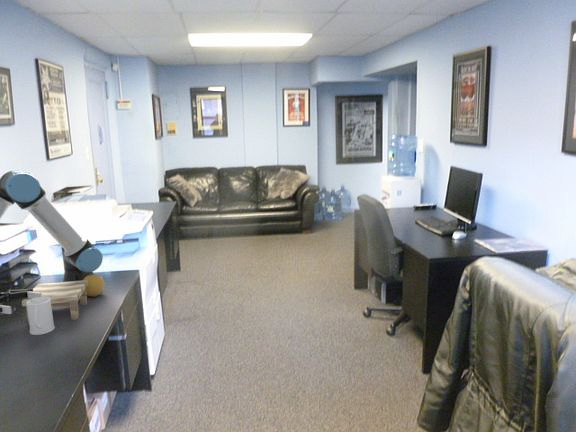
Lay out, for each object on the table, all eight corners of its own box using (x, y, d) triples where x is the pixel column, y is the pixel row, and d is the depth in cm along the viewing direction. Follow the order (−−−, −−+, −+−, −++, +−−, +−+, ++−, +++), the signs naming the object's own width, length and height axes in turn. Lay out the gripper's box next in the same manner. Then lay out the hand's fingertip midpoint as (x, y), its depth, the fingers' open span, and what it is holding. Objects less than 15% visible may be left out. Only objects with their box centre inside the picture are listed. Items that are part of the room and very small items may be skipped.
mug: (48, 337, 170) (44, 307, 168) (23, 340, 169) (18, 309, 166) (57, 324, 182) (53, 295, 179) (34, 326, 180) (30, 297, 178)
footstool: (40, 306, 200) (37, 284, 198) (89, 301, 204) (87, 280, 202) (25, 325, 181) (21, 301, 179) (79, 320, 185) (76, 296, 183)
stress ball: (108, 295, 213) (103, 278, 219) (104, 285, 206) (100, 267, 211) (85, 302, 210) (81, 284, 215) (81, 292, 202) (76, 273, 207)
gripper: (14, 294, 193) (53, 300, 186) (-46, 319, 170) (-3, 326, 163) (11, 277, 191) (51, 282, 184) (-49, 300, 168) (-6, 306, 161)
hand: (26, 303), depth 174 cm, fingers open, 13 cm apart
